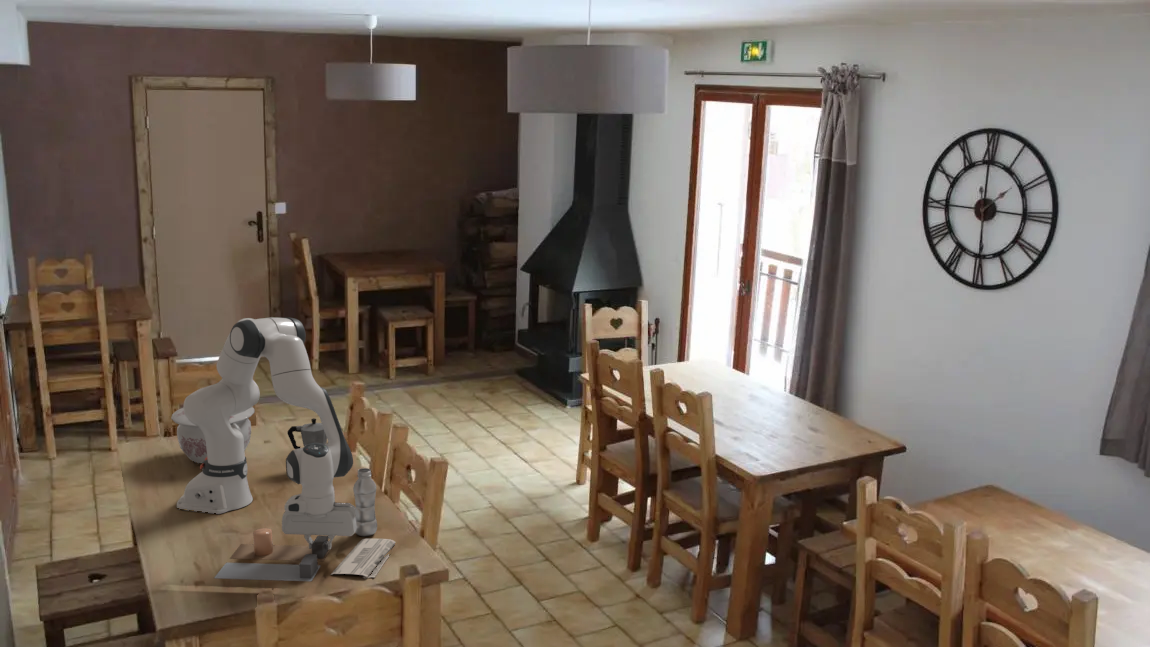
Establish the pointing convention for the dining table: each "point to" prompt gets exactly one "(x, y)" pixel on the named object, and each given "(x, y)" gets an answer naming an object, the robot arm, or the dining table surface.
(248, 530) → the dining table surface
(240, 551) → the walnut strip
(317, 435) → the coffeepot
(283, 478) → the dining table surface
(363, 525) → the plastic bottle
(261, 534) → the canister
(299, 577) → the grey strip
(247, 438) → the chamber pot
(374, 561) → the newspaper
